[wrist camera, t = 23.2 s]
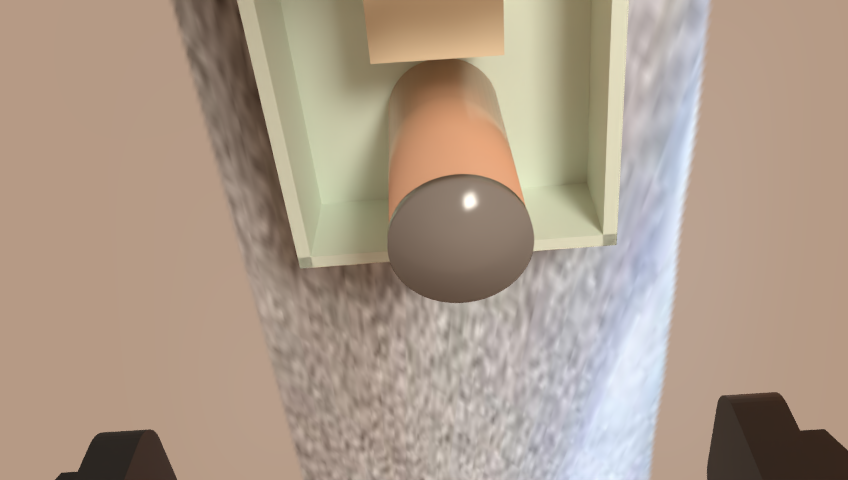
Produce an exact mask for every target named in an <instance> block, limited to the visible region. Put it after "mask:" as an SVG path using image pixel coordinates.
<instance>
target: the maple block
mask: <svg viewBox="0 0 848 480" xmlns="http://www.w3.org/2000/svg"><path fill="white" fill-rule="evenodd" d="M363 5H364V14H365V22H366V31H367V39H368V48H369V56H370V64H379V63H394V62H409V61H424V60H439V59H454V58H469V57H484V56H499V55H504V0H363Z"/></svg>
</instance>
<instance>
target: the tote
mask: <svg viewBox="0 0 848 480" xmlns="http://www.w3.org/2000/svg"><path fill="white" fill-rule="evenodd" d="M237 3H238V7H239V11H240V15H241V20H242V24H243V28H244V32H245V37H246V41H247V45H248V49H249V54H250V58H251V62H252V66H253V71H254V75H255V79H256V83H257V88H258V92H259V96H260V100H261V104H262V109H263V113H264V117H265V121H266V126H267V130H268V134H269V138H270V143H271V147H272V151H273V155H274V160H275V164H276V168H277V172H278V177H279V181H280V185H281V189H282V194H283V198H284V202H285V206H286V211H287V215H288V219H289V223H290V228H291V232H292V236H293V240H294V245H295V249H296V253H297V257H298V261H299V266H300V269H301V268H314V267H328V266H341V265H354V264H368V263H381V262H390V260H389V257H388V250H387V234H388V226H389V192H388V104H389V98H390V95H391V92H392V90H393V88H394V86H395V84H396V83H397V81H398V80H399V79H400V77H401V76H402V75H403V74H404V73H405V72H407V71H408V70H409V69H410V68H412V67H414V66H415V65H417V64H419V63H421V62H424V61H427V60H424V61H409V62H394V63H379V64H370V56H369V48H368V39H367V31H366V22H365V14H364V5H363V0H237ZM628 5H629V0H504V55H499V56H484V57H469V58H454V59H459V60H463V61H466V62H468V63H470V64H472V65H474V66H475V67H477V68H478V69H480V70H481V71H482V72H483V73H484V74H485V75H486V76H487V77H488V78H489V80H490V81H491V83H492V85H493V87H494V89H495V92H496V95H497V99H498V102H499V106H500V110H501V114H502V118H503V122H504V125H505V129H506V133H507V137H508V141H509V144H510V148H511V152H512V156H513V160H514V164H515V167H516V171H517V175H518V179H519V183H520V186H521V190H522V194H523V198H524V202H525V205H526V208H527V210H528V213H529V216H530V219H531V223H532V226H533V231H534V248H533V251H541V250H554V249H568V248H581V247H594V246H608V245H616V242H617V223H618V203H619V183H620V163H621V143H622V124H623V104H624V84H625V64H626V44H627V25H628Z"/></svg>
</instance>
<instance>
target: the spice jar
mask: <svg viewBox="0 0 848 480" xmlns="http://www.w3.org/2000/svg"><path fill="white" fill-rule="evenodd" d="M388 192H389V226H388V234H387V250H388V257H389V260H390V264H391V266H392V268H393V270H394V272H395V273H396V275H397V276H398V277H399V279H400V280H401V281H402V282H403V283H404V284H405V285H406V286H408V287H409V288H410V289H412V290H413V291H415V292H416V293H418V294H420V295H422V296H424V297H427V298H430V299H433V300H437V301H441V302H449V303H464V302H472V301H478V300H481V299H485V298H488V297H490V296H493V295H495V294H497V293H499V292H501V291H502V290H504V289H505V288H507V287H508V286H510V285H511V284H512V283H513V282H514V281H516V280H517V279H518V277H519V276H520V275H521V274H522V273H523V271H524V270H525V269H526V267H527V265H528V263H529V261H530V259H531V256H532V253H533V248H534V231H533V226H532V223H531V219H530V216H529V213H528V210H527V208H526V205H525V202H524V198H523V194H522V190H521V186H520V183H519V179H518V175H517V171H516V167H515V164H514V160H513V156H512V152H511V148H510V144H509V141H508V137H507V133H506V129H505V125H504V122H503V118H502V114H501V110H500V106H499V102H498V99H497V95H496V92H495V89H494V87H493V85H492V83H491V81H490V80H489V78H488V77H487V76H486V75H485V74H484V73H483V72H482V71H481V70H480V69H478V68H477V67H475V66H474V65H472V64H470V63H468V62H466V61H463V60H459V59H439V60H427V61H424V62H421V63H419V64H417V65H415V66H414V67H412V68H410V69H409V70H408V71H407V72H405V73H404V74H403V75H402V76H401V77H400V79H399V80H398V81H397V83H396V84H395V86H394V88H393V90H392V92H391V95H390V98H389V104H388Z"/></svg>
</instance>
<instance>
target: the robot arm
mask: <svg viewBox="0 0 848 480" xmlns="http://www.w3.org/2000/svg"><path fill="white" fill-rule="evenodd" d="M55 480H177V478H176V476H175V474H174V471H173V469H172V467H171V464H170V462H169V460H168V457H167V455H166V453H165V450H164V448H163V446H162V443H161V441H160V439H159V437H158V435H157V434H156V432H154V431H153V430H136V431H121V432H104V433H99V434H97V435H96V436H95V437H94V439H93V440H92V442H91V444H90V445H89V448H88V450H87V452H86V455H85V457H84V459H83V461H82V464H81V466H80V468H79V470H78V472H68V473H61V474H60V475H59V476H58V477H57V478H56V479H55ZM707 480H848V450H847V449H846V448H844V447H843V446H842V445H841V444H840V443H839V442H838V441H837V440H836V439H835V438H833V437H832V436H831V435H830V434H829V433H828V432H827V431H826V430H824V429H821V430H804V431H800V430H799V428H798V425H797V423H796V421H795V419H794V417H793V415H792V413H791V411H790V409H789V407H788V405H787V403H786V402H785V400H784V398H783V397H782V396H781V395H780V394H779V393H777V392H771V393H756V394H739V395H724V396H721V397H720V398H719V400H718V404H717V409H716V415H715V422H714V428H713V434H712V440H711V446H710V452H709V458H708V466H707Z"/></svg>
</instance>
